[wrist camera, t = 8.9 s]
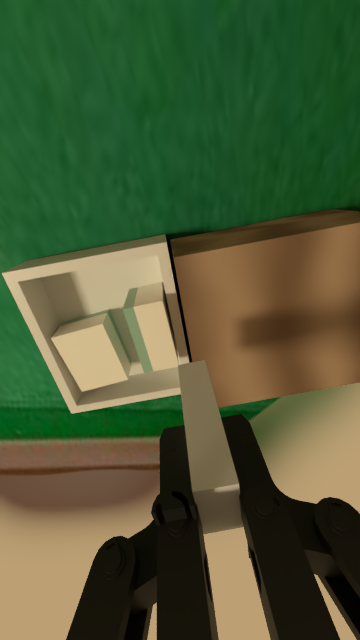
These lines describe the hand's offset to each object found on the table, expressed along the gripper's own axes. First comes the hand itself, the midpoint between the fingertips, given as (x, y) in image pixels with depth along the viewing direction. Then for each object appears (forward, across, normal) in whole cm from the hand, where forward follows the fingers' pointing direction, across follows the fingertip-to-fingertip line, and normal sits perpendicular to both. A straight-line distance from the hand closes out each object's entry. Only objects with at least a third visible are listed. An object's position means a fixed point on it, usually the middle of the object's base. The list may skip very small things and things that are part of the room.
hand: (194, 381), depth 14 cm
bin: (+12, -6, -1) cm, 13 cm away
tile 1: (+8, -8, -2) cm, 12 cm away
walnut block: (+11, +7, -1) cm, 14 cm away
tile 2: (+8, -1, 0) cm, 8 cm away
